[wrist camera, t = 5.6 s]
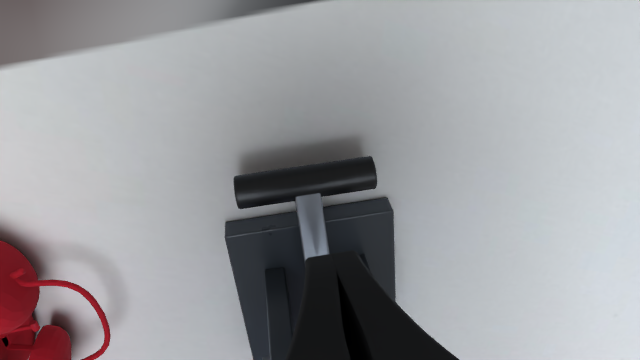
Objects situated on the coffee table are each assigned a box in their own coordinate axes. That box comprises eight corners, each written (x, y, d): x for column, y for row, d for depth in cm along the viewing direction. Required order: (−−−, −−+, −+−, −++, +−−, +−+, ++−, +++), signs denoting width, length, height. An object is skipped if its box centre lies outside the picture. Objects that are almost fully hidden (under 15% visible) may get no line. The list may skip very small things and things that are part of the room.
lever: (236, 175, 23) (230, 177, 21) (366, 156, 24) (376, 155, 21) (269, 392, 24) (268, 418, 21) (397, 370, 24) (409, 393, 22)
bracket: (225, 221, 25) (220, 336, 18) (387, 196, 25) (436, 300, 19) (254, 350, 29) (258, 477, 23) (391, 326, 30) (431, 444, 24)
